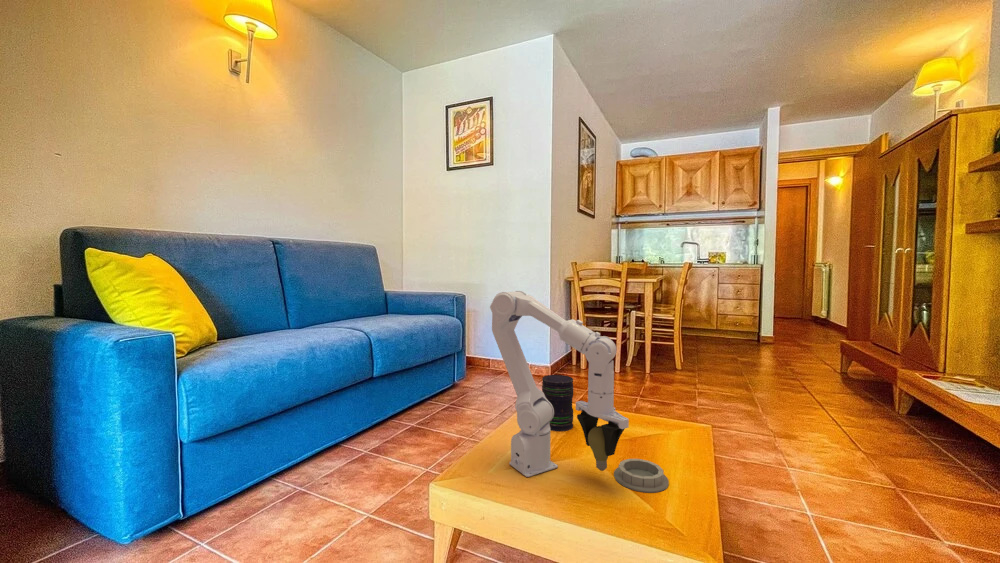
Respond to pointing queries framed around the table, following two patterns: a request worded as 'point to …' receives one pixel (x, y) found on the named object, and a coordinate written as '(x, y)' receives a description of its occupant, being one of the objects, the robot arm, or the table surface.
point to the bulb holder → (641, 476)
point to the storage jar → (559, 400)
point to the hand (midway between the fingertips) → (600, 449)
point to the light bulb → (598, 447)
